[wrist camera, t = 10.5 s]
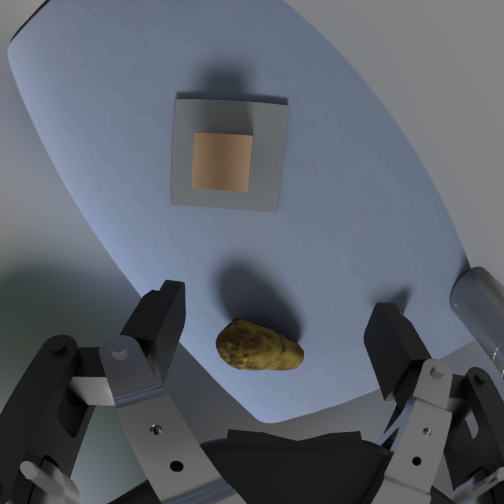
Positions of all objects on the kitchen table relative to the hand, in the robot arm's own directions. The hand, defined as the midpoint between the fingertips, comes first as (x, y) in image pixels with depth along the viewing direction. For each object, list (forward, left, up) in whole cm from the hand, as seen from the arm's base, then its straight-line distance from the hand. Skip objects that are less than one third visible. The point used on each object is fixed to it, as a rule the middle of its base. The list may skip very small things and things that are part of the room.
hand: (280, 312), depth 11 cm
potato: (-2, +20, -22) cm, 30 cm away
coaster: (+4, -4, -22) cm, 23 cm away
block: (+4, -4, -21) cm, 22 cm away
